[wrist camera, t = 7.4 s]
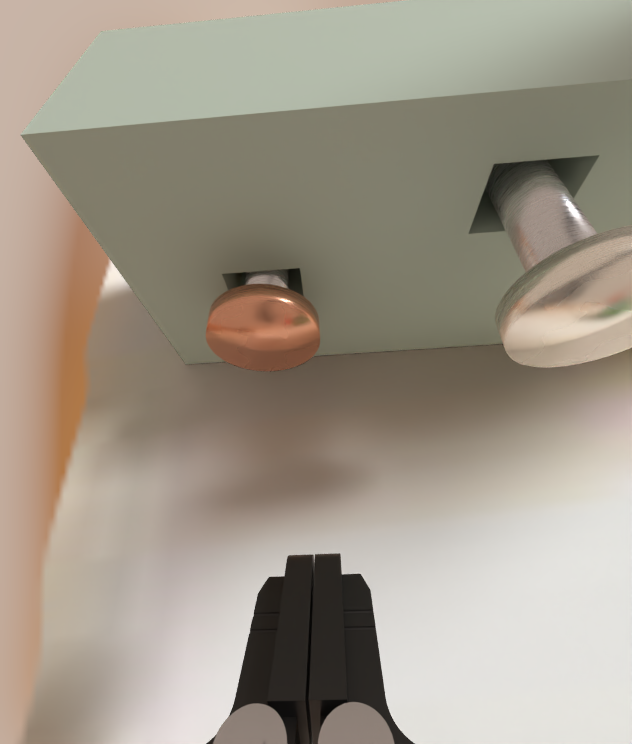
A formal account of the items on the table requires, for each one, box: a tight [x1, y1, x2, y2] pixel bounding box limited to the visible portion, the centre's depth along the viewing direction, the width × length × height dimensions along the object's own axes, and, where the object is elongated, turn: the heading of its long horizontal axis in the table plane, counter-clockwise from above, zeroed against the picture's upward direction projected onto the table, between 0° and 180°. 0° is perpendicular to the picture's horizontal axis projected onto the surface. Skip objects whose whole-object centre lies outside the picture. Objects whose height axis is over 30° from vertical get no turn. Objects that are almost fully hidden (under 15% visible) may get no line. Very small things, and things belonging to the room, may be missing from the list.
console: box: [21, 0, 632, 364], centre depth 21 cm, size 10×26×15 cm, turn 92°
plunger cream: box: [485, 160, 632, 368], centre depth 15 cm, size 13×6×6 cm, turn 2°
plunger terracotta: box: [206, 269, 320, 371], centre depth 21 cm, size 13×6×6 cm, turn 2°
